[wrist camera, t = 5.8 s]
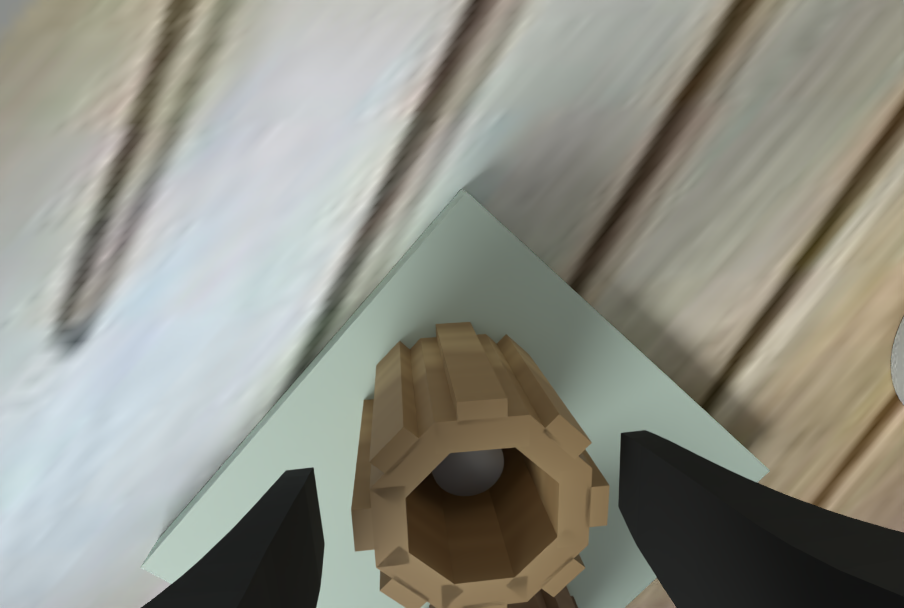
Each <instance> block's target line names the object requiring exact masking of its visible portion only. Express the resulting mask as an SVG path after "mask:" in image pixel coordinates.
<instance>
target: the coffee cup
mask: <svg viewBox="0 0 904 608" xmlns="http://www.w3.org/2000/svg"><path fill="white" fill-rule="evenodd" d="M891 375H892V381H893V385H894V388H895V391H896V393H897V396H898V397H899V399H900V401H901V402H902V404H903V405H904V317H903V319H902V321H901V323H900V326H899V328H898V331H897V334H896V337H895V340H894V344H893V349H892V356H891Z"/></svg>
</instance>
